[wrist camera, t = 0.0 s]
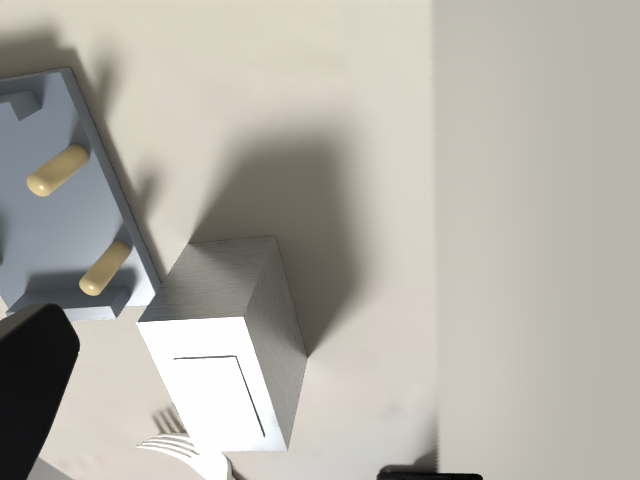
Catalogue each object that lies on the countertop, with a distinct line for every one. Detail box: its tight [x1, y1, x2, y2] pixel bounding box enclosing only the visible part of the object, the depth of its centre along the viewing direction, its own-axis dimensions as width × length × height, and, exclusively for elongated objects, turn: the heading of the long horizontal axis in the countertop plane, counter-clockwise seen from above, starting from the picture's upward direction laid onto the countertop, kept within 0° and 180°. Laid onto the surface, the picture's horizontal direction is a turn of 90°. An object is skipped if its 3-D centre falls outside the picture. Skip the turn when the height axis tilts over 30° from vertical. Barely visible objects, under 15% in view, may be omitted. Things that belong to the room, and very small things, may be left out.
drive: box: [137, 236, 308, 451], centre depth 25 cm, size 8×4×6 cm, turn 11°
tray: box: [0, 67, 161, 321], centre depth 25 cm, size 12×9×4 cm
